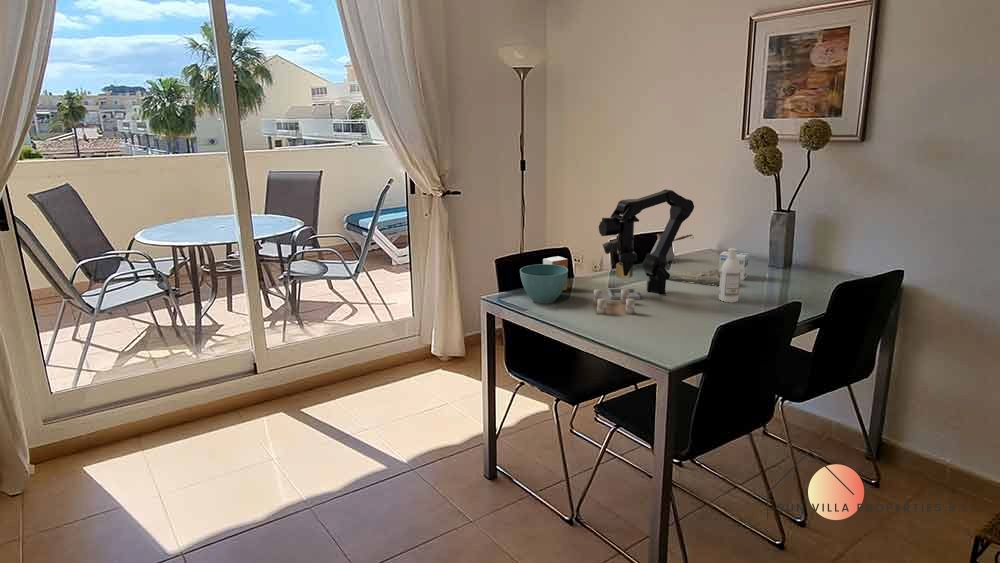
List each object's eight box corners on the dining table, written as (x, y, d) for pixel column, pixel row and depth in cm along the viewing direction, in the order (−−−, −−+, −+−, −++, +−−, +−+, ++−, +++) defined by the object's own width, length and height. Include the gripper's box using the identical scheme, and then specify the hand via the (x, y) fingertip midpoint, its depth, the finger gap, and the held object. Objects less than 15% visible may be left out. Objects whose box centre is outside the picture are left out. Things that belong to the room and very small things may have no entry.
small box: (551, 293, 248) (552, 261, 245) (542, 289, 253) (542, 258, 250) (567, 289, 253) (568, 258, 249) (557, 286, 258) (558, 255, 254)
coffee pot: (644, 260, 299) (646, 230, 295) (658, 257, 306) (660, 227, 302) (683, 268, 284) (686, 236, 280) (697, 264, 291) (699, 232, 287)
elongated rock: (657, 276, 276) (651, 283, 268) (657, 265, 275) (650, 271, 267) (740, 282, 259) (736, 289, 250) (741, 270, 257) (736, 277, 249)
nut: (631, 274, 242) (631, 261, 240) (633, 278, 236) (634, 265, 235) (614, 274, 242) (615, 261, 241) (616, 278, 237) (617, 265, 235)
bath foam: (742, 301, 234) (746, 249, 229) (728, 304, 231) (732, 251, 226) (728, 296, 240) (732, 246, 235) (714, 299, 237) (718, 248, 232)
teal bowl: (533, 310, 227) (533, 277, 224) (512, 297, 243) (512, 267, 240) (576, 303, 234) (576, 272, 231) (553, 291, 250) (553, 262, 247)
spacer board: (629, 303, 234) (629, 288, 232) (636, 317, 218) (637, 301, 217) (591, 303, 234) (592, 288, 233) (596, 317, 219) (596, 301, 217)
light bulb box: (747, 277, 267) (749, 253, 264) (743, 281, 262) (746, 256, 259) (721, 274, 273) (723, 250, 270) (717, 278, 267) (719, 253, 264)
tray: (635, 293, 246) (635, 288, 246) (640, 301, 236) (640, 296, 235) (607, 293, 247) (607, 288, 246) (610, 301, 236) (611, 296, 236)
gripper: (601, 229, 244) (600, 268, 248) (607, 239, 226) (606, 280, 230) (630, 229, 244) (628, 267, 248) (638, 238, 226) (636, 280, 230)
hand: (624, 273), depth 239 cm, fingers closed on nut, 5 cm apart
